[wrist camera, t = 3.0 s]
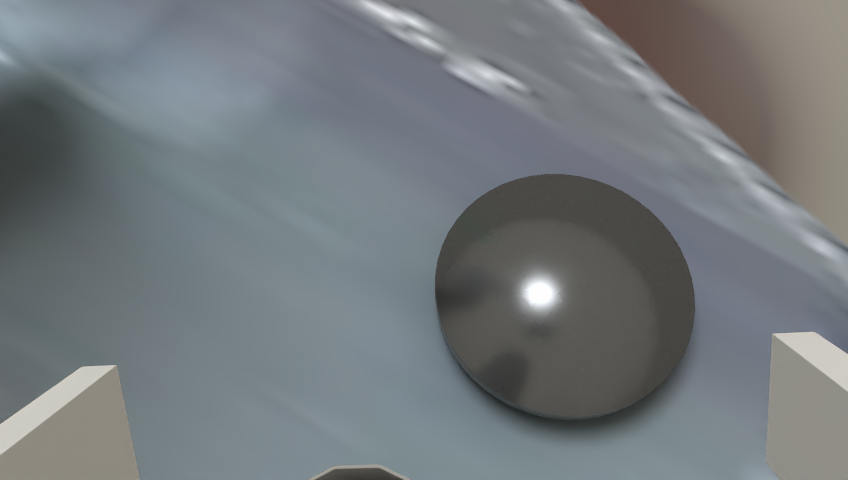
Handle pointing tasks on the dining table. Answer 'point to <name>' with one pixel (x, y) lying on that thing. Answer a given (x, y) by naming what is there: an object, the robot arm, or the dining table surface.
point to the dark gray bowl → (563, 296)
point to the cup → (358, 473)
